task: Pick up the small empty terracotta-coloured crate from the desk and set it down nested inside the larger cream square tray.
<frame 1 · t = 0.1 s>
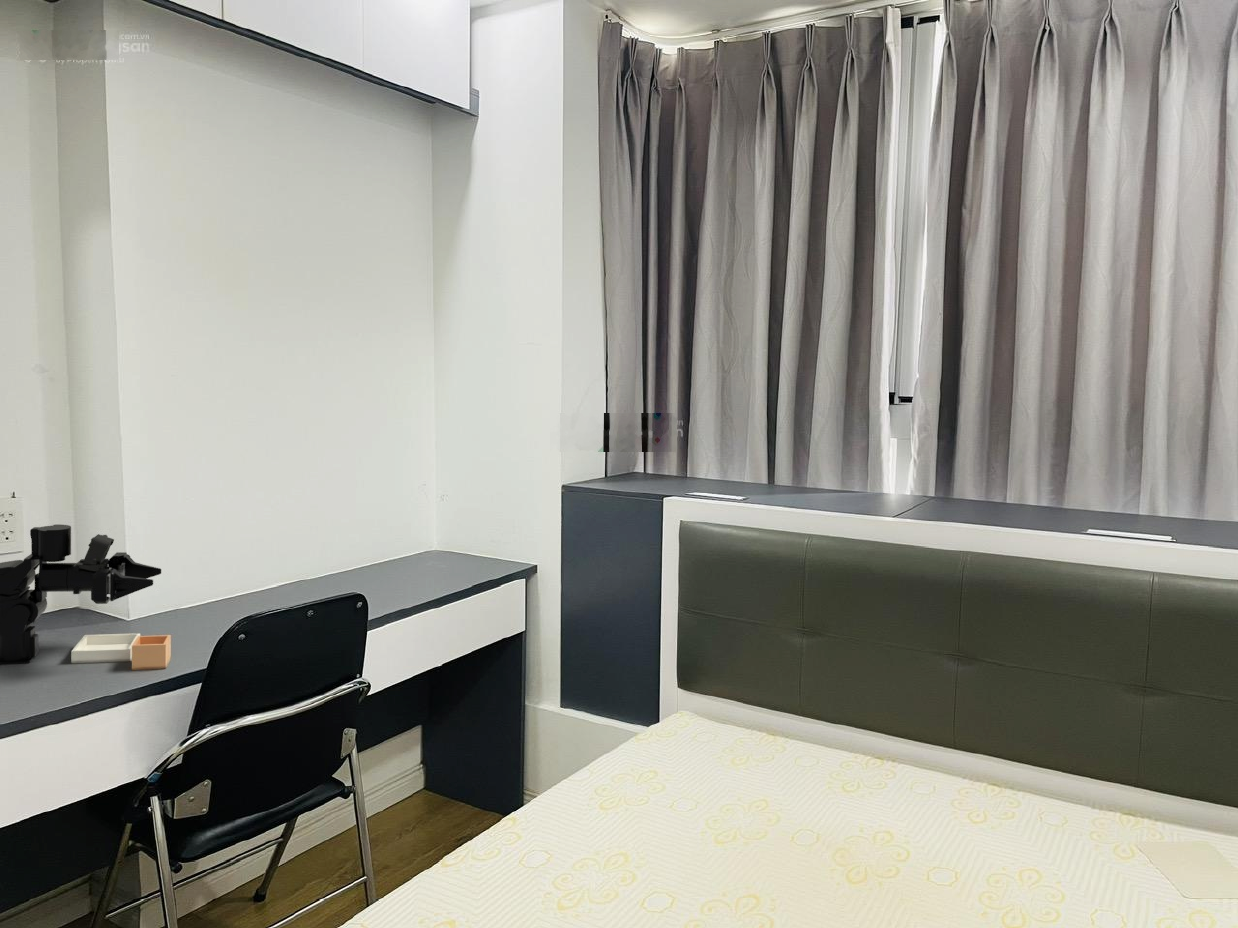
hand: (157, 576, 185), 16 cm above the table, tool horizontal, fingers open, 9 cm apart
small crate: (151, 664, 180), on the table
cream square tray: (107, 653, 185), on the table
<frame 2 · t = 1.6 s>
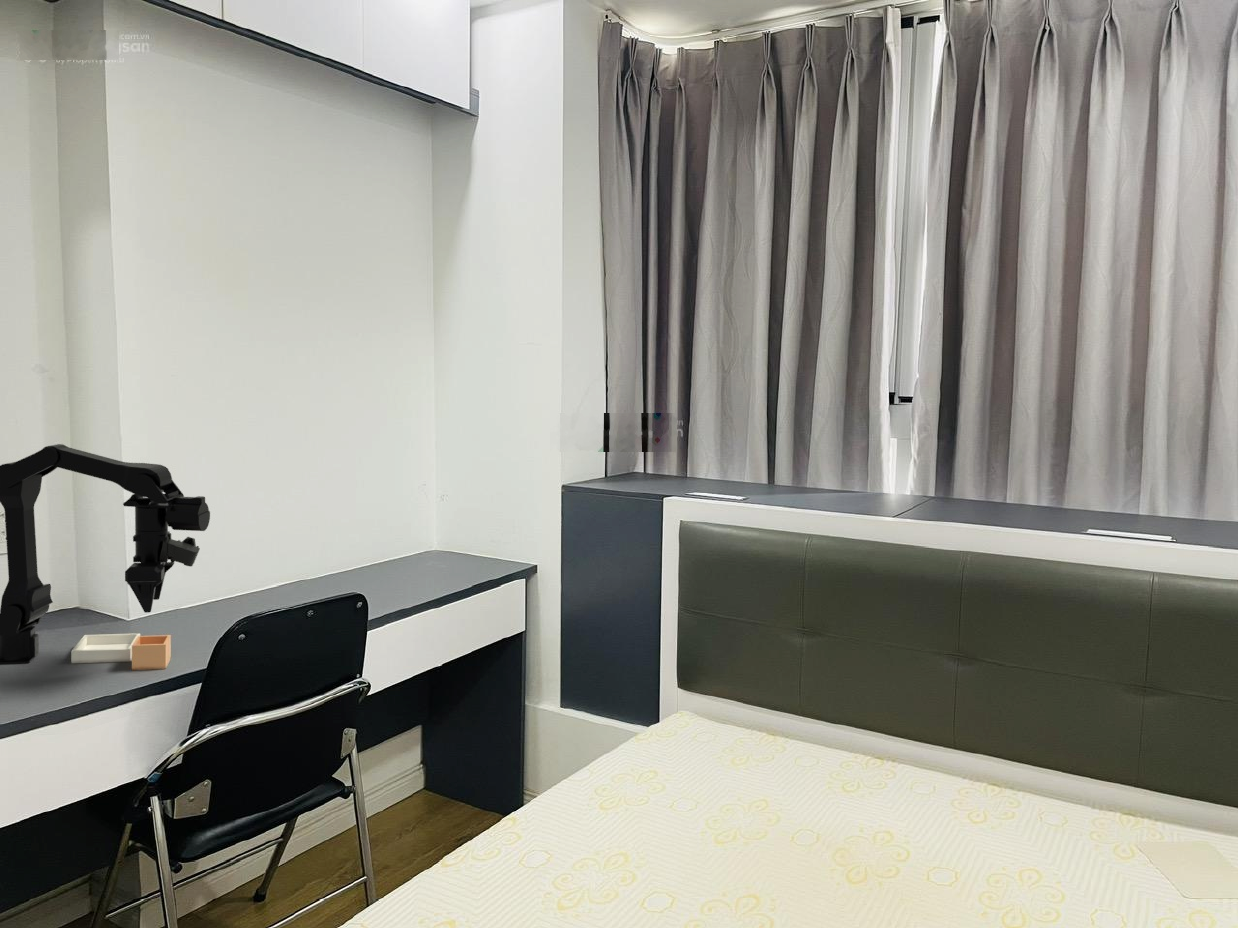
hand: (152, 605, 179), 12 cm above the table, tool pointing down, fingers open, 9 cm apart
nothing on the table moved.
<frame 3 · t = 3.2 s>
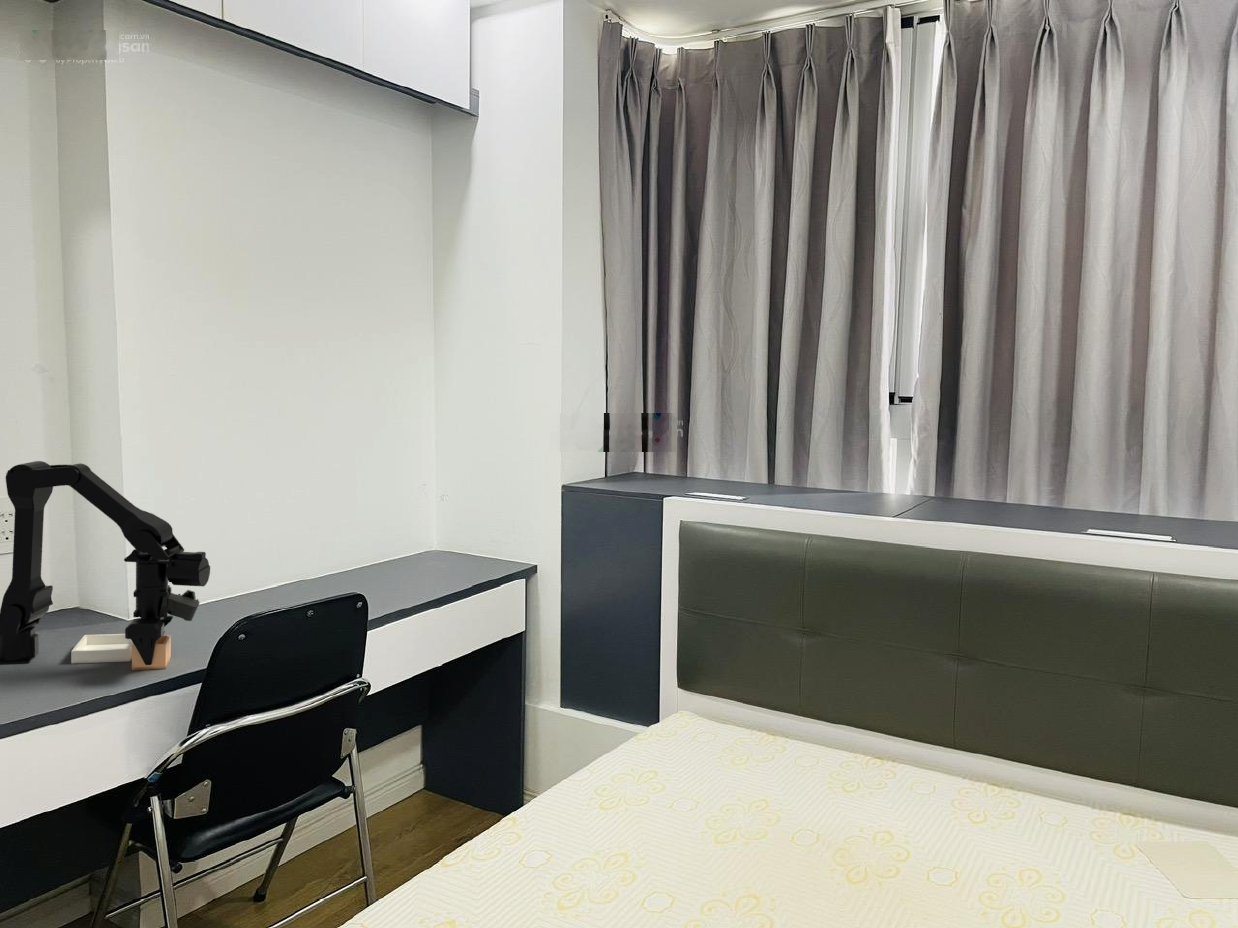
hand: (151, 659, 180), 1 cm above the table, tool pointing down, fingers closed on small crate, 6 cm apart
small crate: (151, 664, 180), on the table, touching gripper
everything else where it was.
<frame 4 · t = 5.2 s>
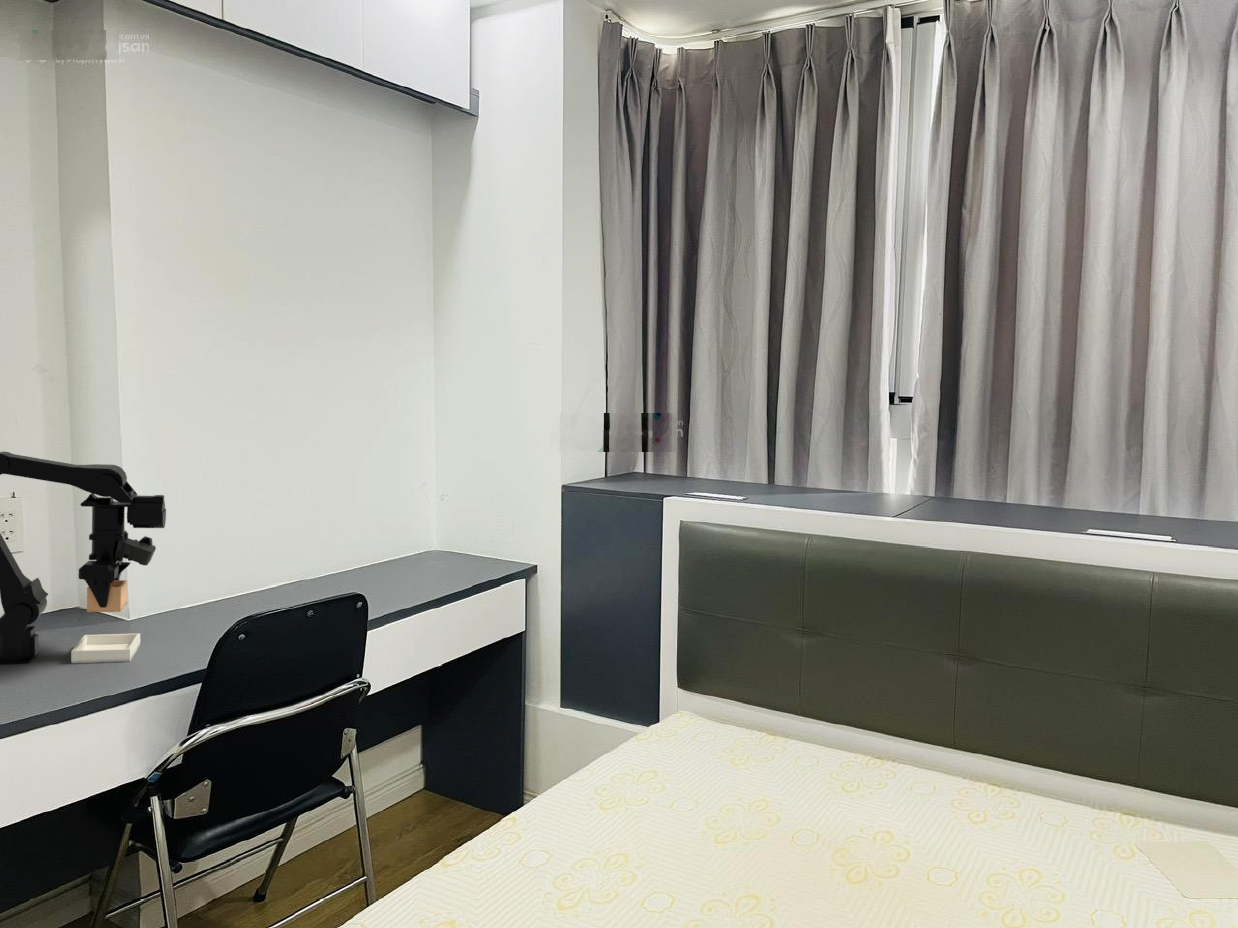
hand: (107, 602, 183), 11 cm above the table, tool pointing down, fingers closed on small crate, 6 cm apart
small crate: (107, 607, 183), point 10 cm above the table, touching gripper
everything else where it was.
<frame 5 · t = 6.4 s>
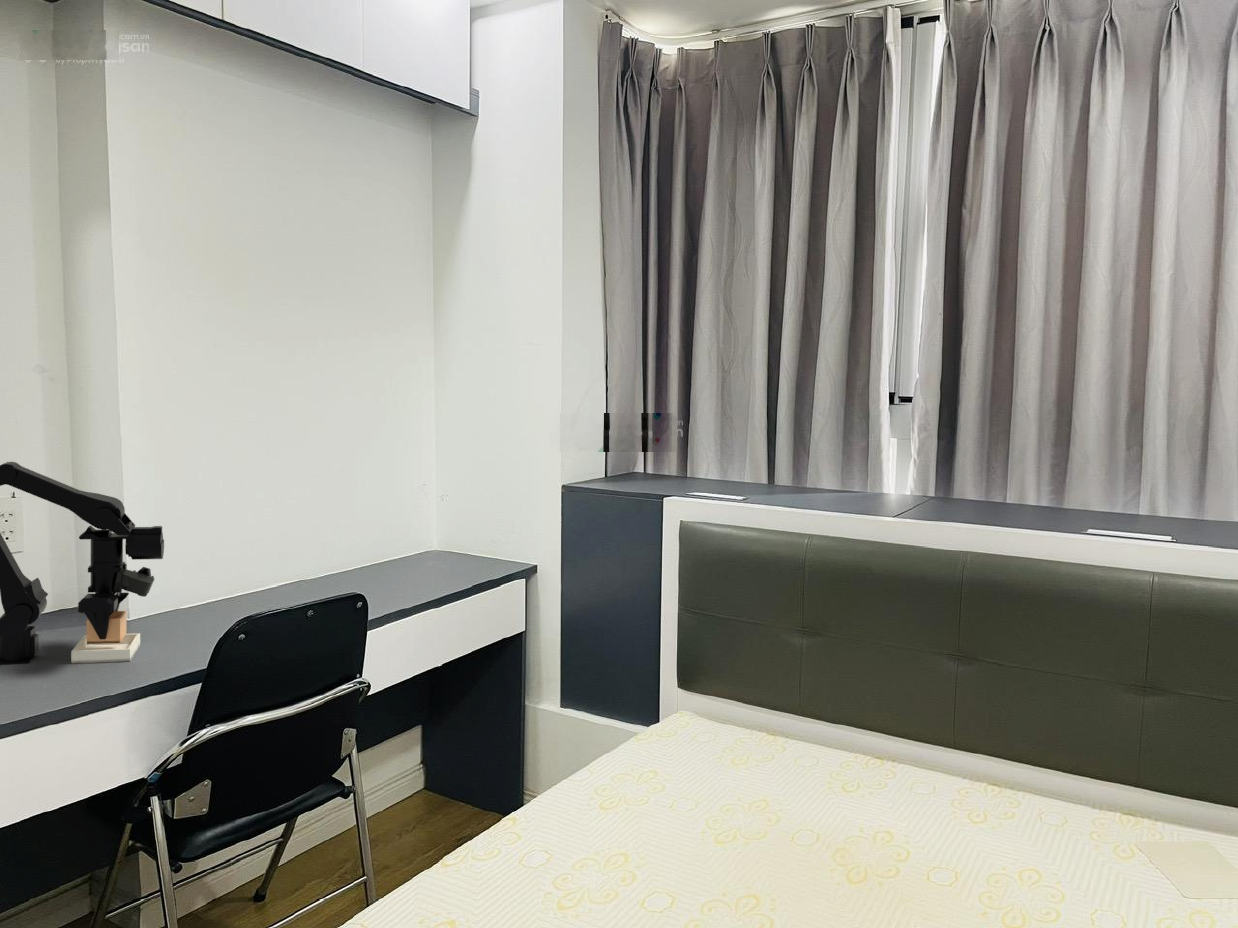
hand: (106, 634, 184), 4 cm above the table, tool pointing down, fingers closed on small crate, 6 cm apart
small crate: (106, 638, 184), point 3 cm above the table, touching gripper
everything else where it was.
when the fingers open (3 cm above the table, at t = 7.1 s): small crate drops 2 cm, resting on cream square tray.
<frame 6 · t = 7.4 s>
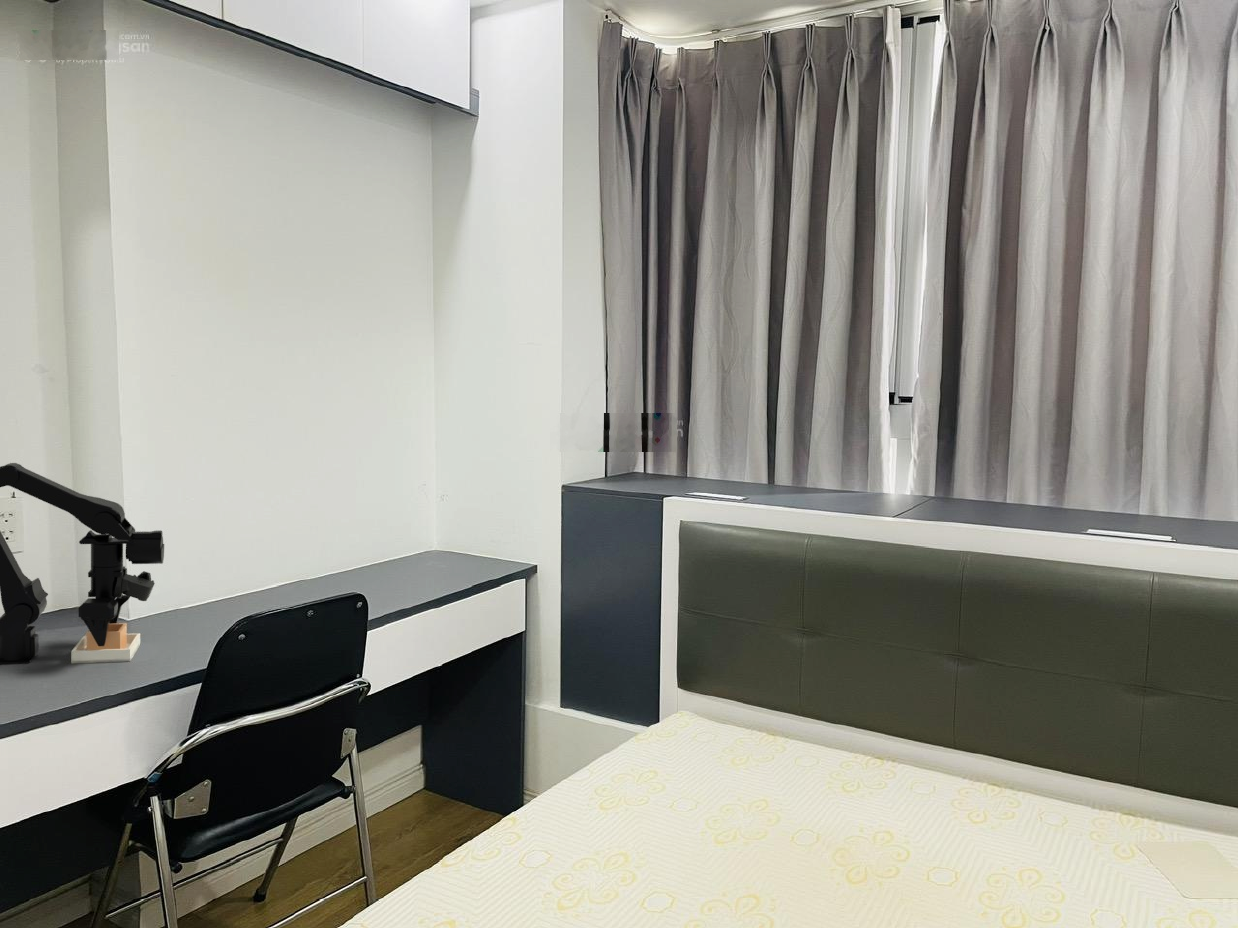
hand: (106, 638, 184), 3 cm above the table, tool pointing down, fingers open, 9 cm apart
small crate: (107, 651, 184), resting on cream square tray
cream square tray: (107, 653, 185), on the table, touching small crate
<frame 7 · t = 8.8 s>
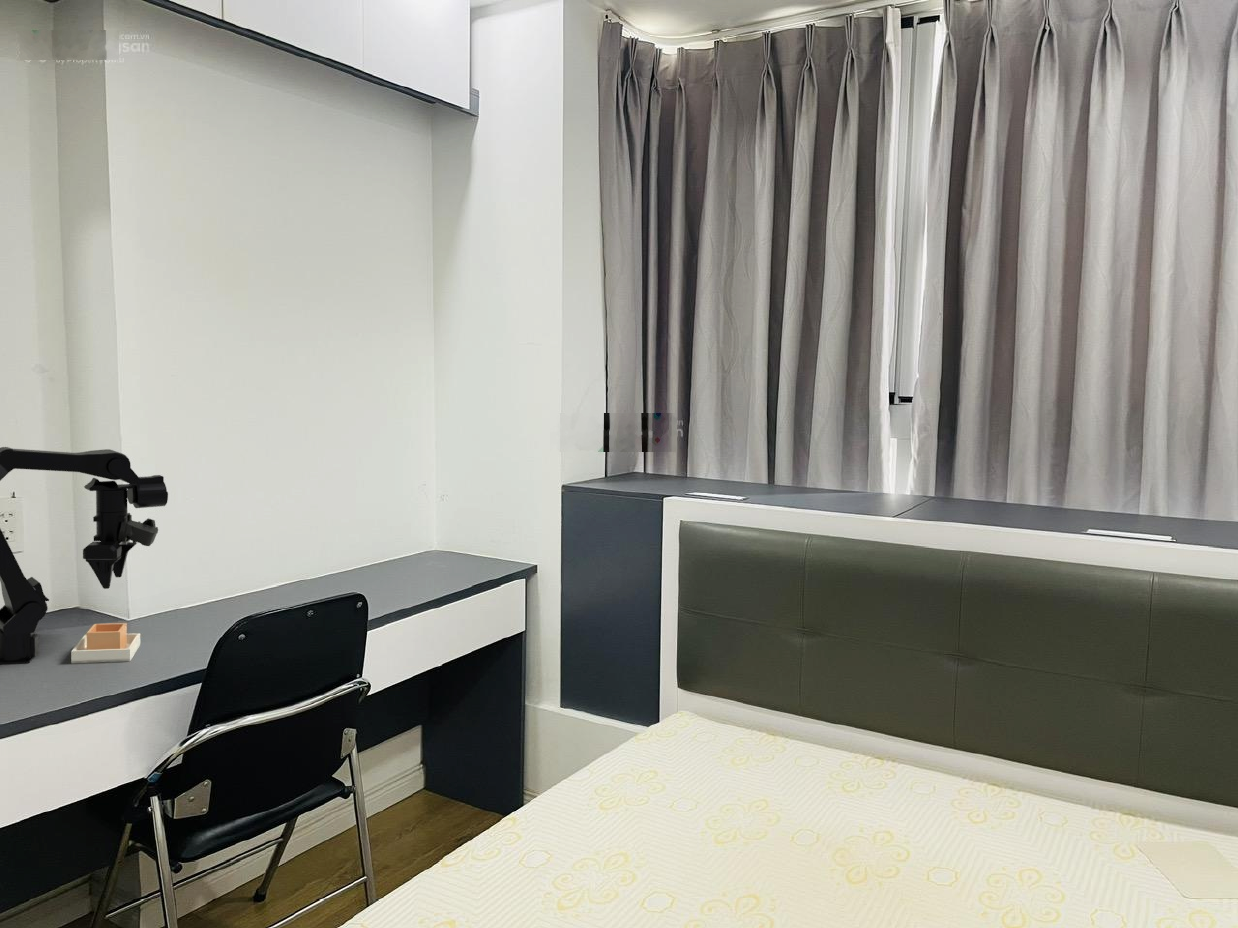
hand: (112, 582, 190), 13 cm above the table, tool pointing down, fingers open, 9 cm apart
nothing on the table moved.
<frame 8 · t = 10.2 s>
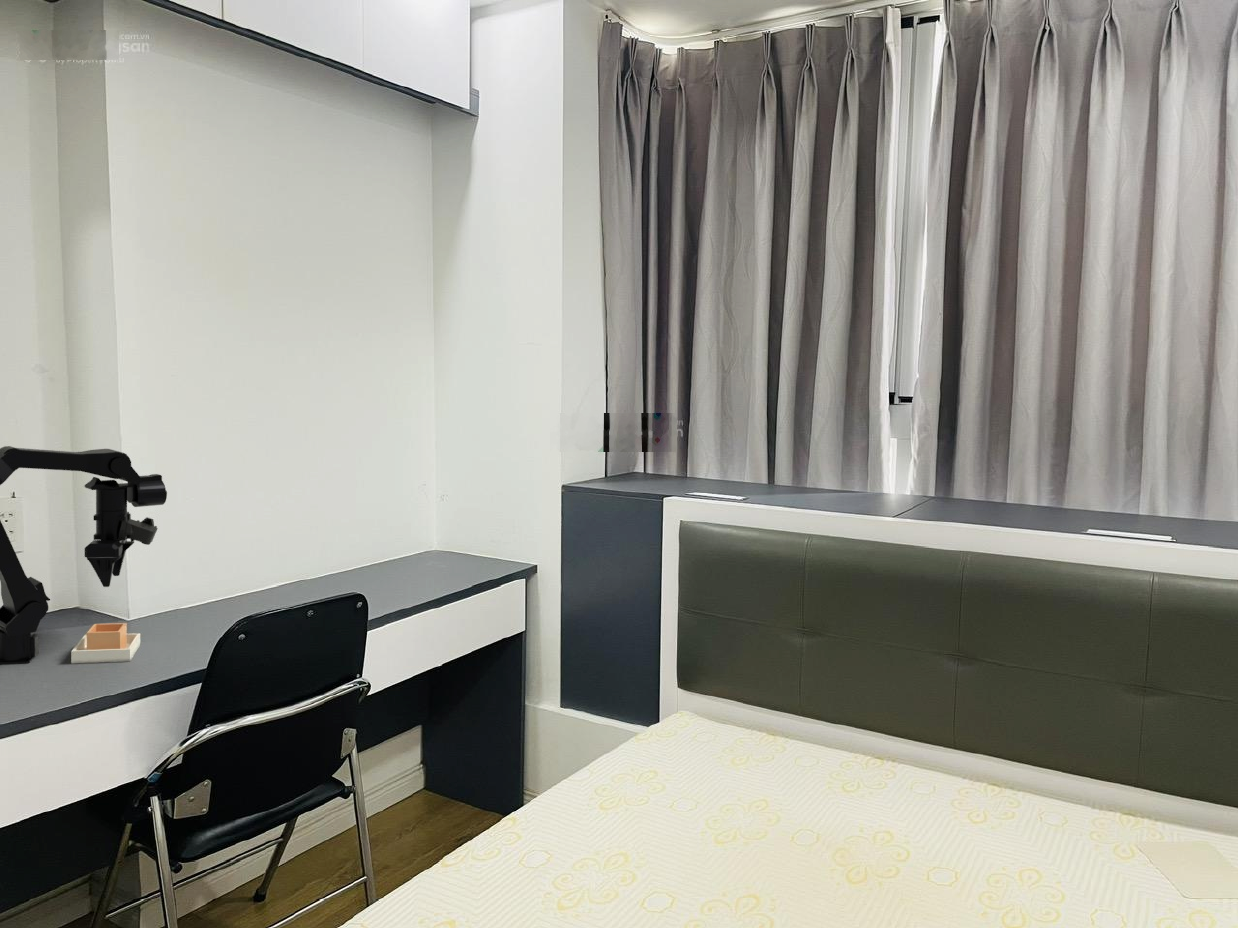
hand: (111, 581, 191), 13 cm above the table, tool pointing down, fingers open, 9 cm apart
nothing on the table moved.
at the end: small crate 0.0 cm off-centre on the cream square tray, point 0.5 cm above the cream square tray's base; small crate tilted 0°; the gripper is holding nothing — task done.
